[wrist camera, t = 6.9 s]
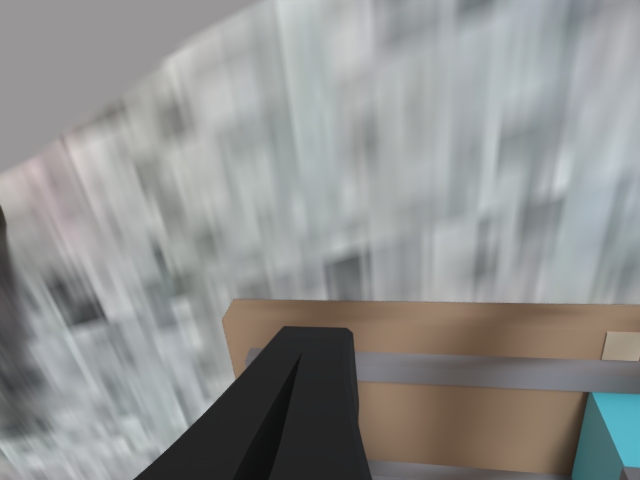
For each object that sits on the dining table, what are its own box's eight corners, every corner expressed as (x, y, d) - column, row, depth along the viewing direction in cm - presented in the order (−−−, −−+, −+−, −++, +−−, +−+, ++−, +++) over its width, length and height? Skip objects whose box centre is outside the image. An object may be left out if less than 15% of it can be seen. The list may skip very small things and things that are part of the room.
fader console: (765, 306, 17) (812, 350, 15) (693, 489, 21) (722, 541, 19) (233, 299, 21) (214, 332, 19) (267, 454, 25) (255, 494, 23)
